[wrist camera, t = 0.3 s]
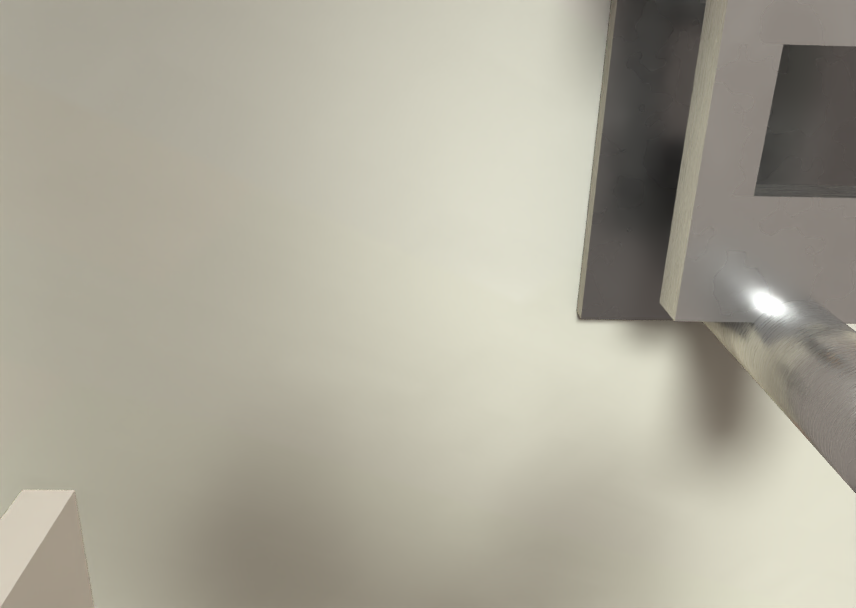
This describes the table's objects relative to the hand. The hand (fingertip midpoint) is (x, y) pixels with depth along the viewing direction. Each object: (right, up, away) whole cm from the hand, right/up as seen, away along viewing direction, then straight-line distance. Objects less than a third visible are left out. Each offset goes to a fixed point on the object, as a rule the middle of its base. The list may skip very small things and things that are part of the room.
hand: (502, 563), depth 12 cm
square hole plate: (+14, +11, +25) cm, 30 cm away
